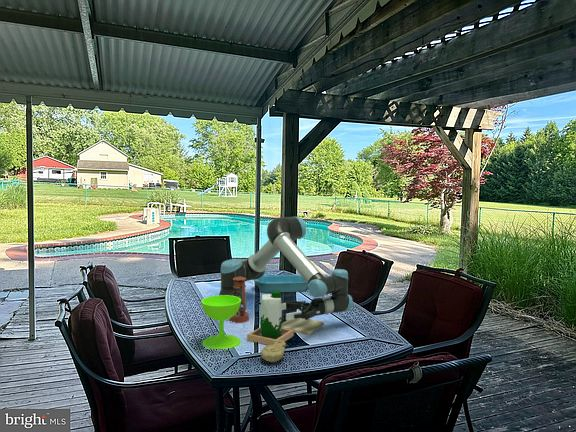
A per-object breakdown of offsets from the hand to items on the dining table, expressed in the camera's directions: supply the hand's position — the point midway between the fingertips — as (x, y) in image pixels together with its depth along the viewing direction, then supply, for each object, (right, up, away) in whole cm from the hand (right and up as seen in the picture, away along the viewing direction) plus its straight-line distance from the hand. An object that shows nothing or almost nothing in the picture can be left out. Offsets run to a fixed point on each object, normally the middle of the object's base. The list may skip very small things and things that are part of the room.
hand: (279, 312), depth 168 cm
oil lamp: (-2, -13, -20) cm, 23 cm away
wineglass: (-23, -11, -7) cm, 27 cm away
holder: (-4, -11, 0) cm, 11 cm away
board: (+10, -10, +14) cm, 20 cm away
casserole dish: (0, -6, +82) cm, 82 cm away
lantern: (-20, -9, +22) cm, 31 cm away
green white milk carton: (-4, -11, 0) cm, 12 cm away
